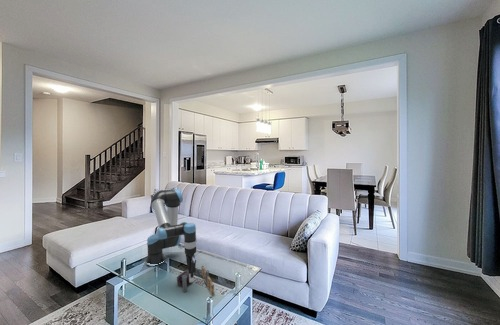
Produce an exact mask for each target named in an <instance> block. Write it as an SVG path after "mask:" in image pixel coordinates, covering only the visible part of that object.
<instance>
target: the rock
mask: <svg viewBox="0 0 500 325" xmlns="http://www.w3.org/2000/svg"><path fill="white" fill-rule="evenodd" d="M182 275H187V285H189V284H190V282H189V271H188V269H186V270H185V271H183V272H181V273H180V274H179V275H178V276H177V277H176V284H177V285H178V286H179V287H183V285H182Z"/></svg>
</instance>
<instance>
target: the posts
mask: <svg viewBox="0 0 500 325" xmlns="http://www.w3.org/2000/svg"><path fill="white" fill-rule="evenodd" d="M207 276H209V277H210V271H209V270H207V269H206V282H205V285H206V287H207ZM187 292H188V286H187V275H182V293H184V294H185V293H187Z"/></svg>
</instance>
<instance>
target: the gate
mask: <svg viewBox="0 0 500 325" xmlns="http://www.w3.org/2000/svg"><path fill="white" fill-rule="evenodd" d="M206 271H207V269H206V268H205V267H204V265H202V266H201V276H202V278H203V280H204V283H206Z"/></svg>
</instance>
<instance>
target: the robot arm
mask: <svg viewBox="0 0 500 325" xmlns="http://www.w3.org/2000/svg"><path fill="white" fill-rule="evenodd" d="M183 199H184V198H183V192H182V190H181V189H179V188H173V189H165V190H163V189H162V190H159V191H157V192H155V194H153V196H152V197H151V202H150V203H151V204H150V205H151V208H152V209H153V210H154V213H155V218H156V220H157V224H158V227H159V228H157V231H156V233H154V234H151V235H150V236H148V237H147V242H146V245H147V256H146V259H145V263H146V262H147V263H150V264H158V265H155V266H154V267H158V266H160V265H162V264H164V263H165V261H166V258H165V257H166V256H165V255H164V253H163V250H164V249H169V248H172V247H173V248H174V247H176V246H177V247H178V246H179V245H180V243H181V240H182V238H181V236H183V239H184V242H183V244H184V254H185V258H186V268H187V269H186V270H188V271H189V282H190V283H193V282H195V274H194V273H196V265H197V264H196V263H197V260H196V258H195V254H196V253H197V241H198V240H197V228H196V224H195V223H194V222H186V221H182V222H180V223H179V224H178V218H179V217H178V215H179V214H178V213H179V207H180V206H181V203H183ZM166 208H167V209H166ZM164 260H165V261H164ZM163 261H164V262H163ZM161 262H163V263H161ZM159 263H161V264H159ZM190 283H189V284H190Z"/></svg>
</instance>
